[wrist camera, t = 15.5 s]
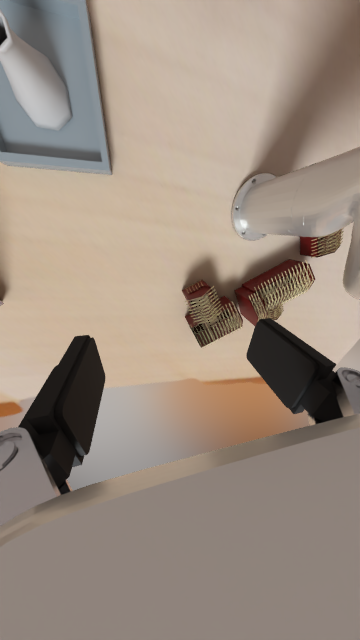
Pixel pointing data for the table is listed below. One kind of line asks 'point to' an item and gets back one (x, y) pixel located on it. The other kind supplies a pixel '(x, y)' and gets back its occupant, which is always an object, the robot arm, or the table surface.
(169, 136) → the table surface
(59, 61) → the tray
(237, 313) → the toy houses
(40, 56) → the flask
